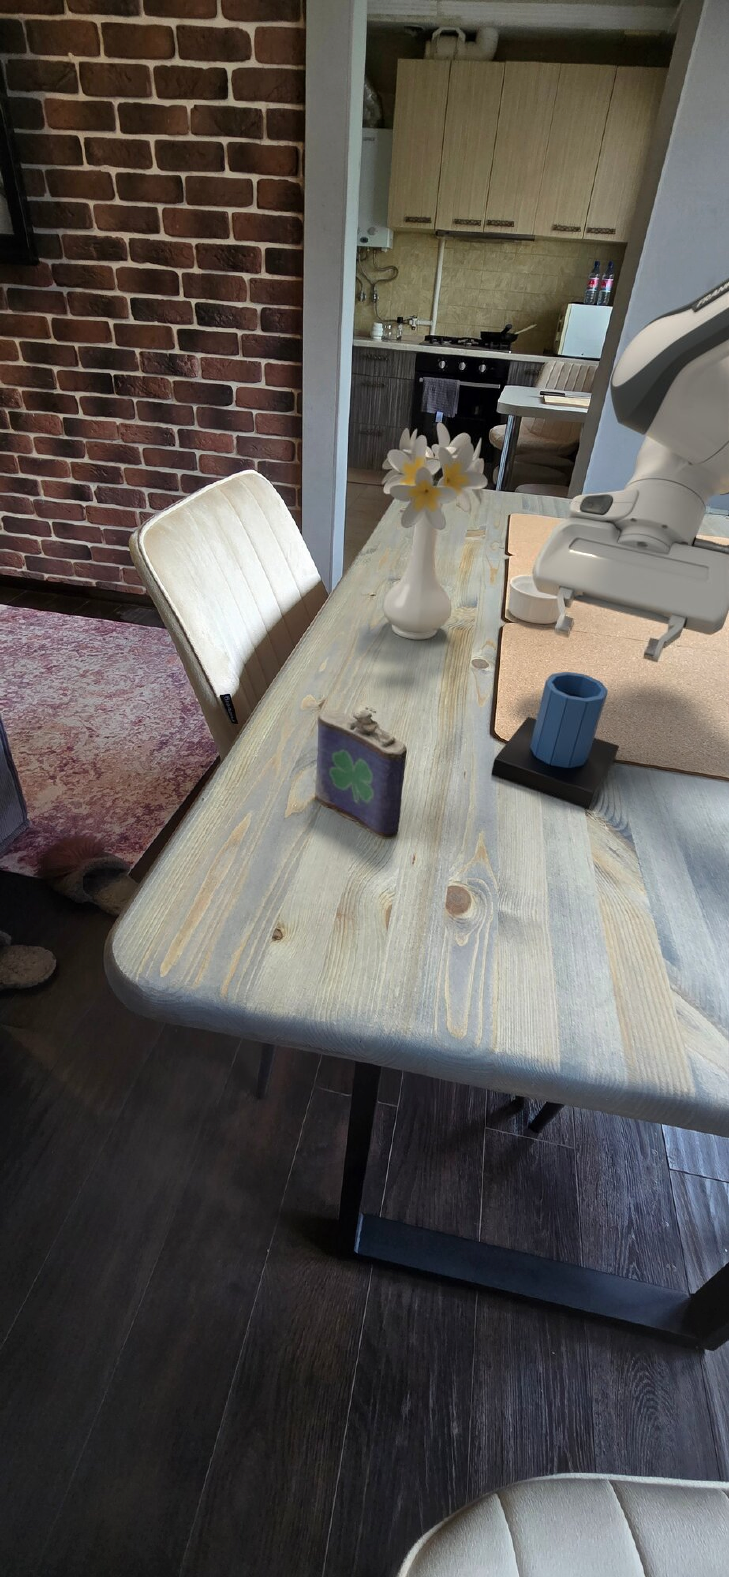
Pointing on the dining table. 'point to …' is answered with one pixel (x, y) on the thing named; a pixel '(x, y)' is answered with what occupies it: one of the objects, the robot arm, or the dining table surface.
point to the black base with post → (554, 768)
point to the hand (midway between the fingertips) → (604, 646)
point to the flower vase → (427, 523)
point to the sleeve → (567, 719)
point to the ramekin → (531, 602)
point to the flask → (360, 771)
